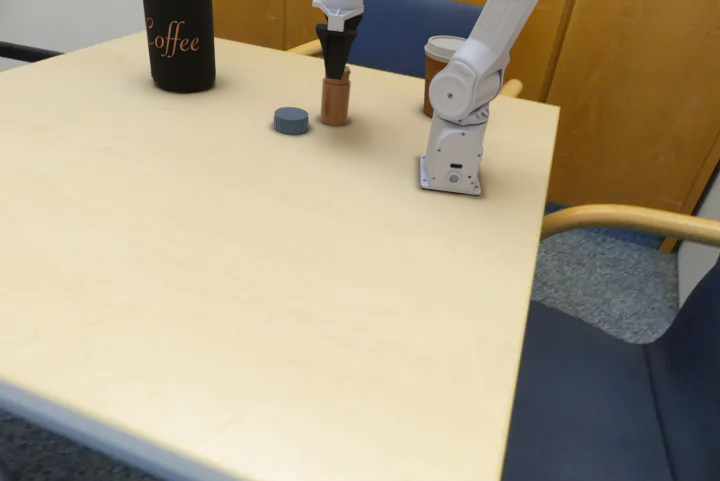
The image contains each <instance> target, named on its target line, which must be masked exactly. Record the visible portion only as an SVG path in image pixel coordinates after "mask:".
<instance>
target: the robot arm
mask: <svg viewBox="0 0 720 481" xmlns="http://www.w3.org/2000/svg"><path fill="white" fill-rule="evenodd" d="M311 2H312V3H311V7H313V8H319V9H320V10H321V11H322V12H323V15H324V17H325V21H326V23H327V24H326V23H319V22H318V23H316V25H315V33H316V36H317V39H318V40H319V43H320V46H321V50H322V55H323V56H322V57H323V62H324V63H323V64H324V69H325V70H324V72H325V71H326V76H327V78H329V79H337V80H341V79H342V76H343V73H344V70H345V66H347V62H348V60H349V57H350V53H351V49H352V45H353V43H354V42H355V40H356V38H357V37H358V34H359V30H357V29H358V27H359V26H360V24H361V22H362V20H363V18H364V10H365V5H364V0H312V1H311ZM538 3H539V0H487V1H486V2H485V5H484V6H483V9H482V10H481V13H480V14H479V17H478V18H477V21H476V22H475V24H474V26H473V28H472V30H471V31H470V34H469V36H468V38H466V39H467V40H466V41H465V42H464V43H463V44H462V45H461V47H460V48H459V49H458V50H457V51H456V52H455V53H454V55H453V56H452V58H451V60H450V62H449V63H448V65H447V66H446V67H445V68H444V69H443V70H442V71H440V72H439V73H437V74H436V75H435V76H434V78H433V79H432V81H431V83H430V87H429V100H430V103H431V105H432V107H433V109H434V112H433V117H431V118H432V119H431V123H430V129H429V135H428V139H427V146H426V151H425V154H421V155H420V156H419V169H420V170H419V173H420V174H419V175H420V187H421V188H423V189H427V190H435V191H442V192H450V193H458V194H467V195H475V196H479V195H481V193H482V189H481V185H480V181H479V180H480V179H479V170H480V168H481V167H480V166H481V162H482V159H483V154H484V147H483V142H484V139H485V135H486V130H487V126H488V123H489V118H490V111H491V110H490V103H491V102H492V101H494V100H496V98H497V97H498V96H499V95H500V93H501V92H502V89H503V86H504V74H505V72H506V69H507V67H508V65H509V64H510V62H511V57H510V52H511V49H512V47H513V46H514V44H515V43H516V40H517V39H518V38H519V35H520V33H521V32H522V30H523V28H524V27H525V25H526V23H527V21H528V20H529V17H530V16H531V15H532V13H533V11H534V9H535V7H536V6H537V4H538Z"/></svg>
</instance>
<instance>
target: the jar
mask: <svg viewBox="0 0 720 481" xmlns="http://www.w3.org/2000/svg"><path fill="white" fill-rule="evenodd" d="M351 72H352V71H351V67H350V66H348V65H345V70H344V73H343V76H342V79H341V80H337V79H329V78H327V76H326V71H325V70H324V77H323V78H322V82H321V83H322V84H321V100H320V115H319V116H320V117H319V120H320V121H321V122H322V123H323V124H326V125H329V126H344V125H345V124H347V123H348V120H349V107H350V96H351V86H352V81H351V80H350V76H351V74H352V73H351Z"/></svg>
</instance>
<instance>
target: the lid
mask: <svg viewBox="0 0 720 481" xmlns="http://www.w3.org/2000/svg"><path fill="white" fill-rule="evenodd" d="M309 121H310V120H309V112H308V111H306V110H305V109H303V108H299V107H295V106H284V107H279V108H276V109H275V111H274V115H273V127H274V130H276V131H278V132H279V133H281V134H285V135H300V134H303V133H305V132H307V131H308V128H309Z"/></svg>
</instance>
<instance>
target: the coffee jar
mask: <svg viewBox="0 0 720 481" xmlns="http://www.w3.org/2000/svg"><path fill="white" fill-rule="evenodd" d="M142 4H143V14H144V23H145V31H146V41H147V48H148V56H149V67H150V75H151V78H152V80H153V81H154V83H155V84H156V86H157V87H158V88H161V89H162V90H165V91H168V92H172V93H173V92H174V93H188V94H189V93H197V92H202V91H206V90H208V89H210V88H211V87H212V86H213V84H214V82H215V81H216V78H217V72H216V71H217V69H216V68H217V67H216V51H215V50H216V49H215V48H216V47H215V46H216V45H215V29H214V26H215V25H214V8H213V6H214V4H213V0H142Z"/></svg>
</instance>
